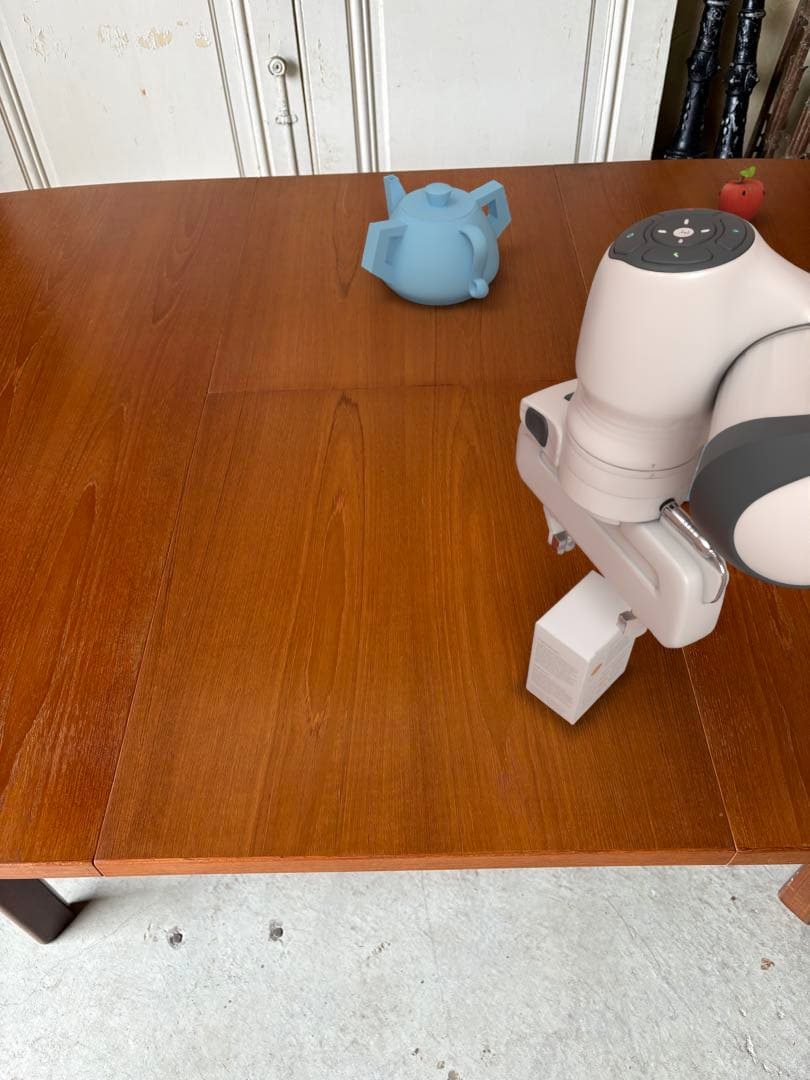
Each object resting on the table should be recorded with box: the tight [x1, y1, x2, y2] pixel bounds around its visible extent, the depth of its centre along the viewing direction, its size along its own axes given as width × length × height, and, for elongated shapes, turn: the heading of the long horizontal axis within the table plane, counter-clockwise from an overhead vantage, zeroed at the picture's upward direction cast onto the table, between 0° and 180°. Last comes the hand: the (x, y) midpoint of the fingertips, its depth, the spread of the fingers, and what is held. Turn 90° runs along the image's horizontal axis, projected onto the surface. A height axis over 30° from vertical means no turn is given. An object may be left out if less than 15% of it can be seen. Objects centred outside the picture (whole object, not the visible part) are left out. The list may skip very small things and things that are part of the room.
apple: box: [717, 165, 766, 222], centre depth 126 cm, size 8×7×10 cm
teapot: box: [360, 173, 512, 306], centre depth 116 cm, size 19×19×14 cm
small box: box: [525, 569, 636, 725], centre depth 71 cm, size 8×6×10 cm
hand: (594, 586), depth 64 cm, fingers open, 8 cm apart
